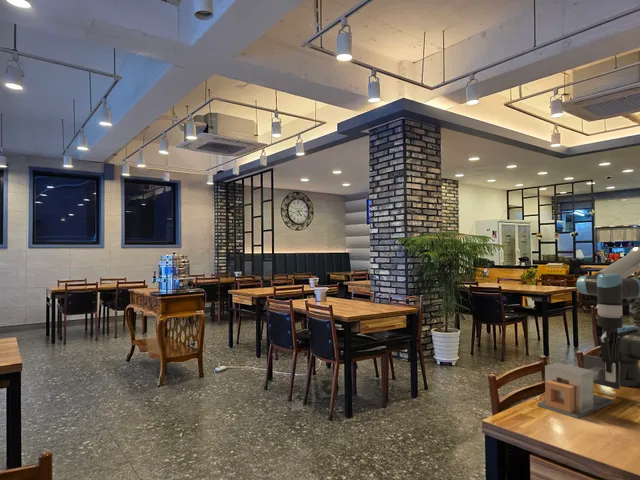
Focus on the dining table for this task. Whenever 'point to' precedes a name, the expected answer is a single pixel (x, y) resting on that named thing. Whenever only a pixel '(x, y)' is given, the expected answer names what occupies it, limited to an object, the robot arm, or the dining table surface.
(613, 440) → the dining table surface
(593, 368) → the grey crossbar bracket
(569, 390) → the block
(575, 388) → the block
